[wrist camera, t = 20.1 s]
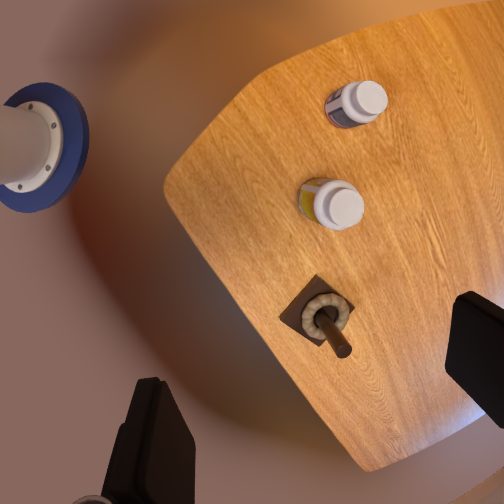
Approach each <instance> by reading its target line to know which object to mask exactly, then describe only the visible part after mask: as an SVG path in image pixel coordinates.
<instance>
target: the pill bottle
mask: <svg viewBox="0 0 504 504" xmlns="http://www.w3.org/2000/svg"><path fill="white" fill-rule="evenodd" d="M387 103H388V98H387V94H386V92H385V90H384V89H383V87H382V86H381V85H379V84H378V83H376V82H374V81H370V80H368V81H363V82H360V81H355V82H351V83H349V84H347V85H345V86H344V87H342V88H340V89H339V90H337V91H336V92H334V93H333V94H331V95H330V96H329V97H328V99H327V101H326V104H325V111H326V115H327V117H328V119H329V120H330V121H331V122H332V123H333V124H334V125H335V126H337V127H339V128H344V129H348V128H352V127H356V126H359V125H363V124H366V123H370V122H372V121H374V120H375V119H376V118H377V117H378V116H379V114H380V113H382V112H383V111H384V110H385V109H386V107H387Z"/></svg>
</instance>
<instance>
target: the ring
mask: <svg viewBox="0 0 504 504" xmlns="http://www.w3.org/2000/svg"><path fill="white" fill-rule="evenodd" d="M327 305H332V306H334V307H336V308H337V310H338V318H337V320H336V321H335V325H336V326H337V327H338V329H339V330H340V331H342V330H343V329H344V327H345V326H346V324H347V322H348V320H349V306H348V305H347V303H346V301H345V300H344V298H343V297H341V296H338V295H336V294H333V293H328V294H322V295H318V296H317V297H315V298H314V299H313V300H311V301H310V302H308V304H307V305H306V307H305V309H304V311H303V313H302V327H303V329H304V330H305V331H306V333H307V334H308V335H309V336H310V337H313V338H316V339H320V340H322V339H326V338H325V336H324V334H323V333H322V331H321V330H320V328H319V327H316V326H315V324H314V323H313V317H314V315H315V313H316V311H317V310H318V309H320V308H321V307H323V306H327Z"/></svg>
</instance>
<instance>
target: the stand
mask: <svg viewBox="0 0 504 504" xmlns="http://www.w3.org/2000/svg"><path fill="white" fill-rule="evenodd" d="M328 293H333V294H336V295H338V296H341V297H343V296H342V295H341V294H339V293H338V292H337V291H336V290H334V289H333V288H332V287H331V286H330V285H328V284H327V283H326V282H325V281H324V280H322V279H321V278H320V277H319V276H317V275H315V276H314V277H313V279H312V280H311V281H310V282H309V283H308V284H307V286H306V287H305V288H304V289H303V290H302V291H301V293H300V294H299V295H298V296H297V297H296V298H295V299H294V300H293V302H292V303H291V304H290V305H289V306H288V307H287V308H286V309H285V311H284V312H283V313H282V314H281V315H280V316H279V318H280V321H282V322H283V323H285V324H286V325H288V326H289V327H291V328H292V329H293V330H295V331H296V332H298V333H299V334H301V335H302V336H304V337H305V338H307V339H308V340H310V341H311V342H313V343H314V344H316V345H317V346H319V347H320V346H321V345H322V344H323V343H324V341H325V340H326V339H327V341H328V343H329V344H330V346H331V347H332V349H333V351H334V352H335V354H336V356H337V357H338V358H346V357H348V356H349V355H350V354H351V352H352V347H351V345H350V344H349V342H348V341H347V340H346V338H345V337H344V336H343V334H342V333H341V331H340V330H339V329H338V327H337V326H336V325H335V321H336V320H337V318H338V310H337V308H336V307H334V306H332V305H327V306H323V307H321V308H320V309H318V310H317V311H316V313H315V315H314V317H313V323H314V324H315V326H316V327H319V328H320V330H321V331H322V333H323V334H324V336H325V338H326V339H322V340H320V339H316V338H313V337H310V336H309V335H308V334H307V333H306V331H305V330H304V329H303V327H302V313H303V311H304V309H305V307H306V305H307V304H308V302H310V301H311V300H313V299H314V298H315V297H317V296H318V295H322V294H328ZM343 298H344V297H343ZM344 300H345V301H346V303H347V305H348V306H349V314H350V313H351V312H352V311H353V310H354V308H355V307H354V306H353V304H351V303H350V302H349V301H348V300H347V299H345V298H344Z"/></svg>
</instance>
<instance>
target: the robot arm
mask: <svg viewBox="0 0 504 504" xmlns="http://www.w3.org/2000/svg"><path fill="white" fill-rule="evenodd" d="M56 125H57V126H56ZM63 143H64V133H63V127H62V123H61V121H60V118H59V116H58V115H57V113H56V111H55V110H54V109H53V108H52V107H50V106H49V105H47V104H45V103H42V102H37V101H31V102H26V103H23V104H21V105H19V106H18V107H16V108H13V107H9V106H4V105H0V185H1V184H4V185H5V186H6V187H7V188H9V189H10V190H12V191H15V192H19V193H24V192H30V191H34V190H36V189H38V188H40V187H41V186H43V185H44V184H45V183H46V182H47V181H48V180H49V179H50V178H51V176H52V175H53V173H54V172H55V170H56V168H57V166H58V164H59V161H60V158H61V155H62V150H63ZM50 166H51V169H50ZM445 369H446V372H447V373H448V375H449V376H450V377H451V378H452V379H453V380H454V381H455V382H456V383H457V384H458V385H459V386H460V387H461V388H462V389H463V390H464V391H465V392H466V393H467V394H468V395H469V396H470V397H471V398H472V399H473V400H474V401H475V402H476V403H477V404H478V405H479V406H480V407H481V408H482V409H483V410H484V411H485V412H486V414H488V416H489V417H490V418H491V419H492V420H493V421H494V422H495V423H496V424H497V425H498V426H499V427H500V428H503V429H504V309H502V308H501V307H499V306H497V305H496V304H494V303H492V302H491V301H489V300H487V299H486V298H484V297H482V296H481V295H479V294H477V293H475V292H473V291H468V292H466V293H464V294H461V295H459V296H458V297H457V298H456V300H455V302H454V304H453V310H452V320H451V328H450V336H449V343H448V349H447V355H446V361H445ZM195 447H196V446H195V441H194V438H193V436H192V434H191V432H190V431H189V429H188V427H187V425H186V423H185V421H184V419H183V417H182V415H181V413H180V411H179V409H178V406H177V404H176V402H175V400H174V398H173V396H172V393H171V391H170V389H169V387H168V385H167V383H166V382H165V381H160V380H159V378H158V377H152V378H144V379H139V380H138V382H137V384H136V387H135V391H134V394H133V397H132V400H131V404H130V407H129V410H128V414H127V417H126V420H125V423H123V424H121V426H120V428H119V430H118V434H117V437H116V441H115V444H114V447H113V451H112V455H111V458H110V462H109V465H108V469H107V473H106V476H105V481H104V484H103V488H102V492H101V496H97V495H88V496H84V497H82V498H79V499H78V500H76V501H75V502H74V503H73V504H195V453H196V448H195ZM449 504H504V467H502V468H501V469H500V470H498V471H497V472H496V473H494V474H493V475H492V476H490V477H489V478H488V479H486V480H485V481H483V482H482V483H480V484H479V485H477V486H476V487H474V488H473V489H471V490H470V491H468V492H467V493H465V494H464V495H462V496H461V497H459V498H457V499H456V500H454V501H452V502H451V503H449Z"/></svg>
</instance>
